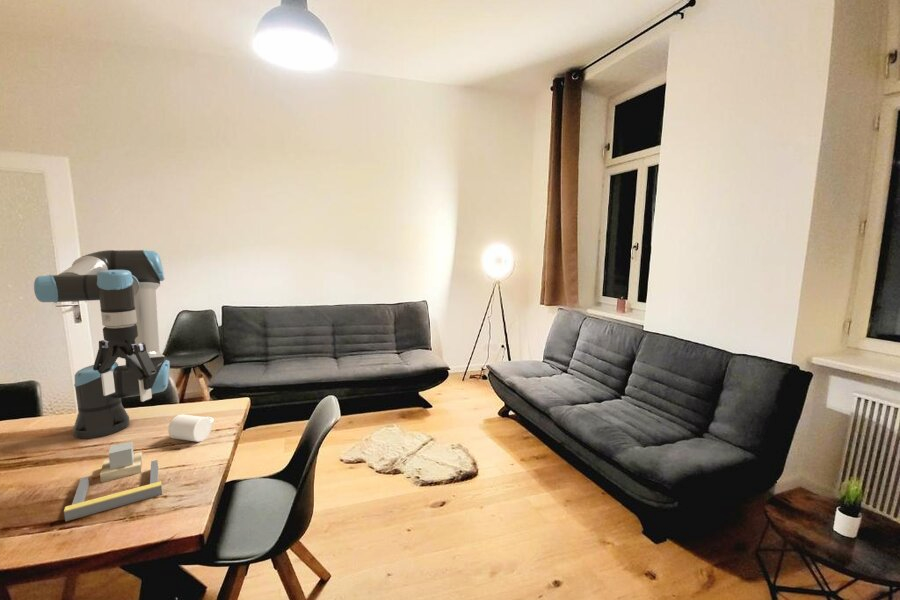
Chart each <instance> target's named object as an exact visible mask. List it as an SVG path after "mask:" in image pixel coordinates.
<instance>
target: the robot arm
mask: <svg viewBox="0 0 900 600" xmlns="http://www.w3.org/2000/svg"><path fill="white" fill-rule="evenodd" d="M164 273H165V272H164V268H163V265H162V259H161V256H160V255H159V253H158V252H157V251H156V250H144V249H139V250H138V249H137V250H135V249H134V250H131V249H130V250H129V249H128V250H123V249H122V250H119V249H118V250H111V249H109V250H108V249H107V250H106V249H105V250H99V251H95V252H92V253H91V252H90V253H87V254H85V255H82V256H80V257H78V258H77V259H75V260H74V261H73V262H72V264H71V266H70V267H68V268H66V269H65V270H63V271H62V272H60V273H59V274H49V275H39V276H37V277H35V279H34V282H33V291H34V296H35V298H36V299H37V301H38V302H41V303H55V304H56V303H64V302H65V303H66V302H84V301H85V302H87V301H99V304H100V305H99V307H100V313H101V314H100V315H101V324H102V326H103V328H102V335H103V336H102V337H103V339H102V340H99V341H98V350H97V354H96V357H95V360H94V364H92V365H89V366H86V367H83V368H80V369H78V370H77V372H75V374H74V383H73V385H74V389H75V397H76V404H77V416H76V418H75V423H74V426H73V428H72V429H73V436H74V437H75V438H78V439H94V438H101V437H104V436H108V435H112V434H115V433H118V432H120V431H122V430H124V429H125V428H127V427H128V426H129V425H130V423H131V421H130V415H129V414H128V412H127V410H126V409H125V407H124V406H123V404H122V399H124V398H132V397H137V396H140V399H139V400H140V402H142V403H144V402H145V401H149V400H151V399H152V398H153V395H154V394H157V393H162V392H164V391H166V390H167V388H168V385H169V378H170V372H171V371H170V370H171V369H170V368H171V367H170V366H171V365H170V364H171V363H170V360H169V359H166V358H165V357H166V356H165V355H164V354H163V353H161V352H160V340H159V325H158V324H159V323H158V321H159V320H158V310H157V308H158V306H157V305H158V304H157V289H159V287H161V282H163V281H165V279H166V278H165V274H164ZM118 358H120V359H124V360H125V361H124V362H125V364H123V365H119V363H118V362H117V360H118Z"/></svg>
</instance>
